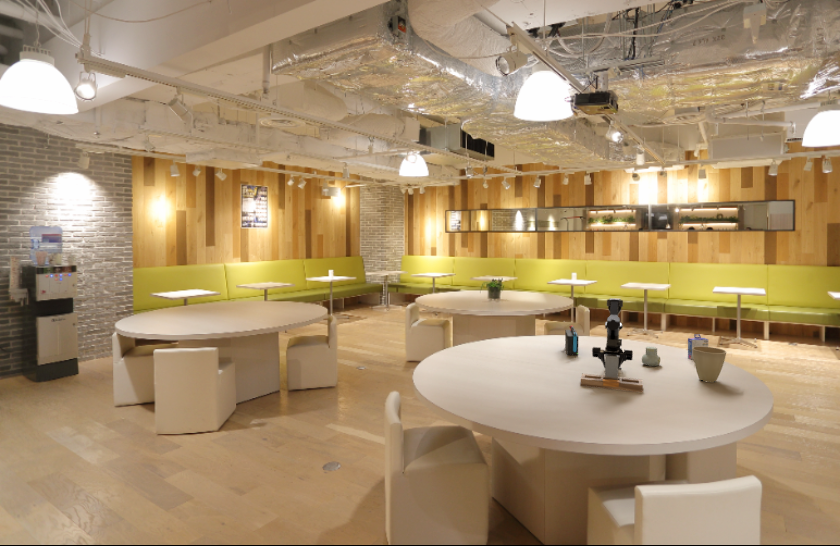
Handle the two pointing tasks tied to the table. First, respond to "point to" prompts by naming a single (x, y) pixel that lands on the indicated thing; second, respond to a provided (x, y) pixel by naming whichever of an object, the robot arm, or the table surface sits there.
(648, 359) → the air freshener
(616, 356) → the gray rectangular block
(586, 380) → the slot rack
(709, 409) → the table surface
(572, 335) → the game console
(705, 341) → the ink cartridge box
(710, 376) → the plant pot
